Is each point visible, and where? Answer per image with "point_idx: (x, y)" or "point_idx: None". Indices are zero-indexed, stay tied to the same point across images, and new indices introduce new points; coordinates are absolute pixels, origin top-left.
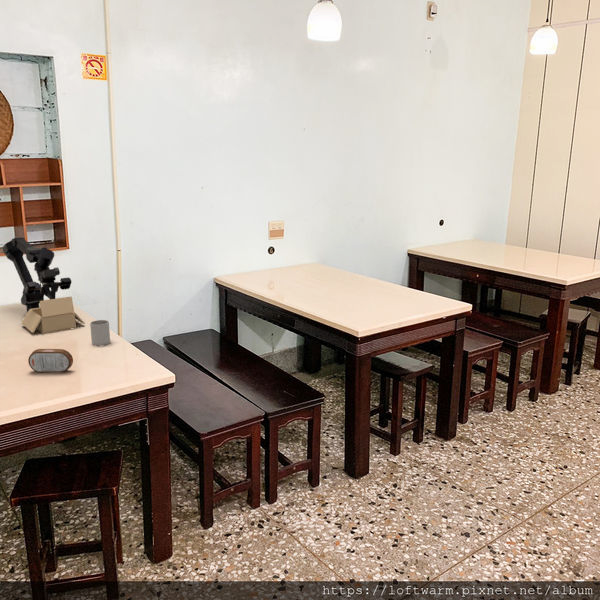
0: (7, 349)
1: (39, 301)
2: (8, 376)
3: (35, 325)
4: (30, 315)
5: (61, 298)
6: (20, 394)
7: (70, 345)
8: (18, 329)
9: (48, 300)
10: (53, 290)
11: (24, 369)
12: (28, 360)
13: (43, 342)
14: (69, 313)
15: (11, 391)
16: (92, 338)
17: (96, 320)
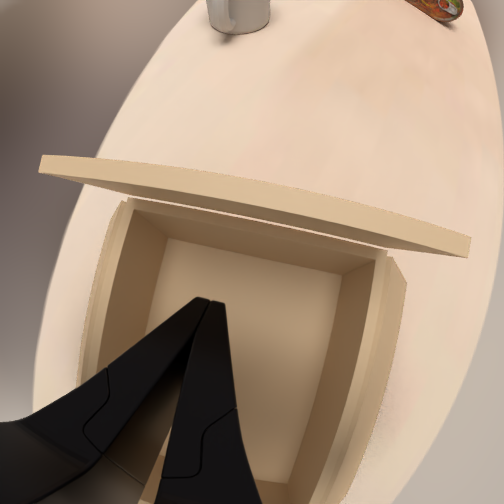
0: (500, 187)
1: (465, 255)
2: (484, 48)
3: (400, 285)
4: (346, 466)
5: (153, 167)
6: None
7: (326, 55)
8: (382, 446)
9: (360, 204)
10: (91, 432)
11: (462, 43)
12: (462, 11)
13: (396, 147)
14: (120, 297)
15: (472, 17)
16: (269, 3)
17: None
